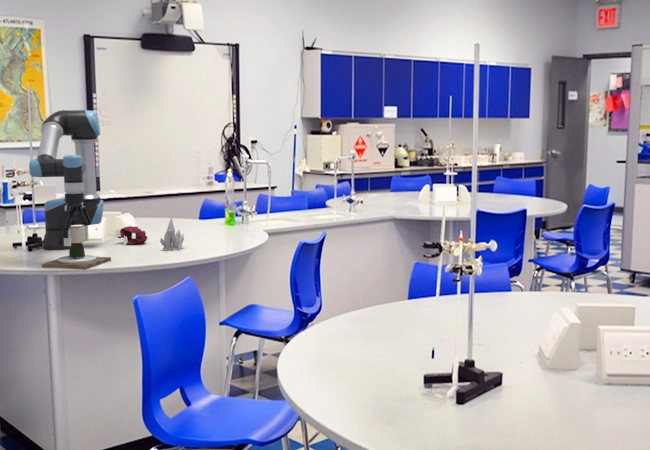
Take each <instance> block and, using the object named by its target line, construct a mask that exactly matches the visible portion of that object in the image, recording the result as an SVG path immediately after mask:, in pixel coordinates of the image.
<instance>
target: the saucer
mask: <svg viewBox="0 0 650 450" xmlns="http://www.w3.org/2000/svg"><path fill="white" fill-rule="evenodd" d="M96 257H97V256H95V255H91V254H89V255H88V254H85V256H84V257H76V258H74V257H69V255H65V256H62V257H59V258H57V259H58V262H60V263H67V264H76V263H87V262H92V261H95V260H96Z"/></svg>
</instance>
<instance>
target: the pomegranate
mask: <svg viewBox="0 0 650 450" xmlns="http://www.w3.org/2000/svg"><path fill="white" fill-rule="evenodd" d="M146 233H147V232H146V231H145V230H142V229H141V228H139V227H138V226H133V225H132V226H131V225H129V226H124V227H123V228H120V229H119V228H118V229H117V228H116V230H115V234H114V237H115V238H117V239H120V240H121V239H123V246H129V245H130V246H133V245H134V246H136V245H139V244H141V245H142V244H145V243H146V242H147V240H148V236H147V235H146Z"/></svg>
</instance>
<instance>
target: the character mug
mask: <svg viewBox="0 0 650 450" xmlns="http://www.w3.org/2000/svg"><path fill="white" fill-rule="evenodd" d="M69 230H70V237H71V246H70V249H69V251H68V253H69V255H68V256H69V257H74V258H76V257H84V256H85V255H86V253H85V247H84V244H83V243H85V242H86V241H85V227H83V226H82V225H72V226H71V227H70V228H69Z"/></svg>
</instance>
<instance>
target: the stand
mask: <svg viewBox="0 0 650 450" xmlns="http://www.w3.org/2000/svg"><path fill="white" fill-rule="evenodd" d="M95 257H96V260H95V261H92V262H87V263H76V264H67V263H60V262H58V259H59V258H56V259H54V260H53V259H52V260H50V261H47V262H44V263H41V268H46V269H47V268H51V269H75V270H88V269H91V268H95V267H98V266H99V265H102V264H105V263H109V262H111V261H112V257H111V256H95ZM108 261H109V262H108Z"/></svg>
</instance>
